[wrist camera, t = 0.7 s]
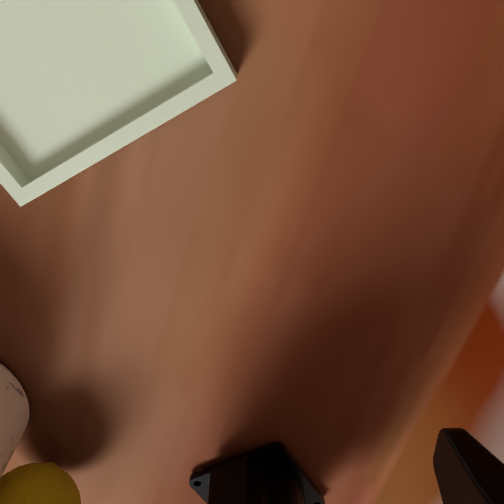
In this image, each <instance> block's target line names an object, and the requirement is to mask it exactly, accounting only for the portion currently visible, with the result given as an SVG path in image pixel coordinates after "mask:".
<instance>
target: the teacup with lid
mask: <svg viewBox="0 0 504 504" xmlns="http://www.w3.org/2000/svg"><path fill="white" fill-rule="evenodd" d="M28 420H29V404H28V399H27V397H26V394H25V392H24V390H23V388H22V386H21V384H20V383H19V381H18V380H17V379H16V377H15V376H14V375H13V374H12V373H11V372H10V371H9V370H8V369H7V368H6V367H5V366H3V365H2V364H1V363H0V477H1V476H2V474H3V472H4V470H5V468H6V466H7V464H8V462H9V460H10V458H11V456H12V454H13V452H14V450H15V449H16V447H17V445H18V443H19V441H20V439H21V437H22V435H23V433H24V431H25V429H26V427H27V424H28Z"/></svg>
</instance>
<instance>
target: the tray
mask: <svg viewBox="0 0 504 504" xmlns="http://www.w3.org/2000/svg"><path fill="white" fill-rule="evenodd" d="M236 80H237V73H236V71H235V69H234V67H233V65H232V63H231V61H230V60H229V58H228V56H227V54H226V52H225V50H224V48H223V46H222V44H221V43H220V41H219V39H218V37H217V35H216V33H215V31H214V29H213V28H212V26H211V24H210V22H209V20H208V18H207V16H206V14H205V13H204V11H203V9H202V7H201V5H200V3H199V1H198V0H0V184H1V185H2V186H3V187H4V188H5V189H6V191H7V192H8V193H9V194H10V195H11V196H12V198H13V199H14V200H15V201H16V202H17V203H18V205H19V206H20V207H21V206H23V205H25V204H27V203H28V202H30V201H32V200H33V199H35V198H37V197H38V196H40V195H42V194H44V193H45V192H47V191H49V190H50V189H52V188H54V187H56V186H57V185H59V184H61V183H62V182H64V181H66V180H67V179H69V178H71V177H73V176H74V175H76V174H78V173H79V172H81V171H83V170H85V169H86V168H88V167H90V166H91V165H93V164H95V163H97V162H98V161H100V160H102V159H103V158H105V157H107V156H108V155H110V154H112V153H114V152H115V151H117V150H119V149H120V148H122V147H124V146H126V145H127V144H129V143H131V142H132V141H134V140H136V139H137V138H139V137H141V136H143V135H144V134H146V133H148V132H149V131H151V130H153V129H155V128H156V127H158V126H160V125H161V124H163V123H165V122H166V121H168V120H170V119H172V118H173V117H175V116H177V115H178V114H180V113H182V112H184V111H185V110H187V109H189V108H190V107H192V106H194V105H196V104H197V103H199V102H201V101H202V100H204V99H206V98H207V97H209V96H211V95H213V94H214V93H216V92H218V91H219V90H221V89H223V88H225V87H226V86H228V85H230V84H231V83H233V82H235V81H236Z"/></svg>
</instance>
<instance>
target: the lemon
mask: <svg viewBox="0 0 504 504" xmlns="http://www.w3.org/2000/svg"><path fill="white" fill-rule="evenodd" d="M0 504H81V499H80V494H79V490H78V488H77V486H76V484H75V482H74V480H73V479H72V478H71V476H70V475H69V474H68V473H67V472H65V471H64V470H62V469H61V468H59V467H57V465H56V464H55V463H54V462H47V463H30V464H26V465H23V466H19V467H17V468H15V469H13V470H11V471H9V472H8V473H6V474H4V475H3V476H1V477H0Z"/></svg>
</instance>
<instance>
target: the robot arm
mask: <svg viewBox="0 0 504 504" xmlns="http://www.w3.org/2000/svg"><path fill="white" fill-rule="evenodd" d="M433 465H434V470H435V475H436V478H437V482H438V485H439V489H440V493H441V497H442V501H443V504H504V464H503V463H502V462H501V461H500V460H499V459H498V458H496V457H495V456H494V455H493V454H492V453H491V452H490V451H489V450H487V449H486V448H485V447H484V446H483V445H482V444H481V443H480V442H479V441H477V440H476V439H475V438H474V437H473V436H472V435H470V433H468V432H467V431H466V430H464V429H462V428H443V429H441V430H440V431H439V434H438V439H437V443H436V448H435V452H434V457H433ZM189 485H190V486H191V487H192V488H193V489H194V490H195V491H196V493H197V494H198V495H199V496H200V497H201V498H202V499H203V500H204V501H205V502H206V503H207V504H325V501H324V497H323V495H322V494H321V493H320V491H319V490H318V489H317V487H316V486H315V485H314V483H313V482H312V481H311V480H310V478H309V477H308V476H307V474H306V473H305V472H304V470H303V469H302V468H301V466H300V465H299V464H298V462H297V461H296V460H295V458H294V457H293V456H292V455H291V453H290V452H289V451H288V449H287V448H286V447H285V445H283V444H282V443H277V442H276V443H272V444H270V445H267V446H264V447H262V448H259V449H256V450H254V451H251V452H248V453H246V454H243V455H241V456H238V457H235V458H233V459H230V460H227V461H225V462H222V463H219V464H217V465H214V466H212V467H209V468H206V469H204V470H201V471H198V472H196V473H193V474H192V475H191V476H190V482H189Z"/></svg>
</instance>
